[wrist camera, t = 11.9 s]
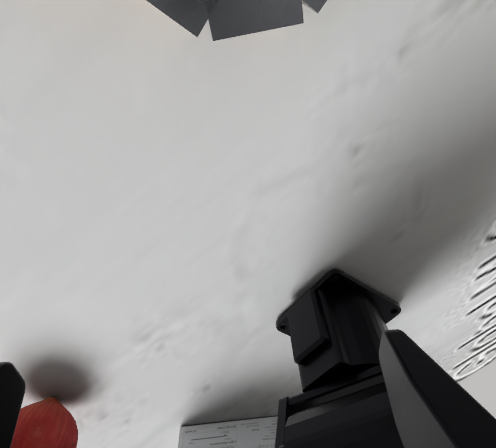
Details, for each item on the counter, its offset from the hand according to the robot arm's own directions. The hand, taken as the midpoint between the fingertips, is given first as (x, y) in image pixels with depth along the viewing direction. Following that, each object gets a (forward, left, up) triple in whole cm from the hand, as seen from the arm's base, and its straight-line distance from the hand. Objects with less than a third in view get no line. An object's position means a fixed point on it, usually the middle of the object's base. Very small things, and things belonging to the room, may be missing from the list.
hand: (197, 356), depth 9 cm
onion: (-1, +27, -13) cm, 30 cm away
